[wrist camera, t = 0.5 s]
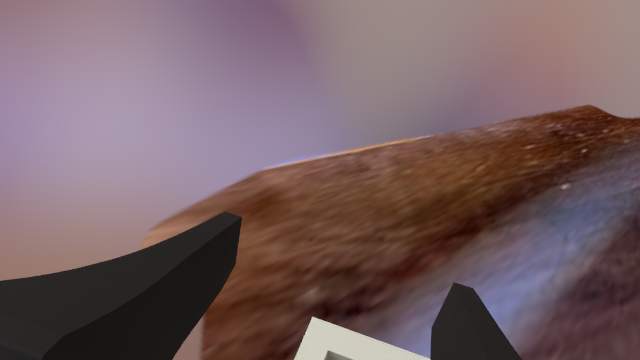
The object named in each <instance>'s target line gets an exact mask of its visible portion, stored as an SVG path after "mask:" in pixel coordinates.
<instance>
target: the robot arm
mask: <svg viewBox="0 0 640 360" xmlns="http://www.w3.org/2000/svg"><path fill="white" fill-rule="evenodd" d="M241 220H242V217H241V216H237V215H234V214H231V213H228V212H224V213H221V214H219V215H217V216H215V217H213V218H211V219H209V220H207V221H205V222H203V223H201V224H199V225H197V226H195V227H193V228H191V229H189V230H187V231H185V232H183V233H181V234H178V235H176V236H174V237H172V238H169V239H167V240H164V241H162V242H160V243H157V244H155V245H153V246H150V247H148V248H145V249H142V250H139V251H137V252H134V253H131V254H128V255H125V256H122V257H118V258H115V259H112V260H108V261H104V262H100V263H97V264H93V265H89V266H85V267H81V268H77V269H72V270H68V271H62V272H58V273H52V274H46V275H41V276H34V277H28V278H20V279H12V280H4V281H0V360H172V359H173V358H174V356H175V354H176V353H177V351H178V350H179V348H180V347H181V345H182V343H183V342H184V341H185V339H186V338H187V337H188V335H189V334H190V332H191V331H192V329H193V328H194V327H195V326H196V324H197V323H198V321H199V320H200V319H201V317H202V316H203V315H204V313H205V312H206V310H207V309H208V308H209V306H210V305H211V304H212V302H213V301H214V299H215V298H216V297H217V295H218V294H219V292H220V291H221V289H222V288H223V286H224V284H225V283H226V281H227V279H228V277H229V275H230V273H231V271H232V270H233V268H234V266H235V264H236V256H237V249H238V242H239V235H240V227H241ZM431 360H522V359H521V358H520V356H519V355H518V354H517V352H516V351H515V349H514V348H513V347H512V345H511V344H510V342H509V341H508V340H507V338H506V337H505V335H504V334H503V332H502V331H501V329H500V328H499V326H498V325H497V323H496V322H495V320H494V319H493V317H492V316H491V314H490V313H489V311H488V310H487V308H486V307H485V305H484V304H483V302H482V301H481V299H480V298H479V296H478V295H477V293H476V292H475V290H474V289H473V288H470V287H467V286H464V285H461V284H457V283H453V285H452V287H451V289H450V291H449V293H448V295H447V297H446V299H445V301H444V303H443V306H442V308H441V310H440V312H439V314H438V316H437V318H436V320H435V322H434V324H433V326H432V333H431Z"/></svg>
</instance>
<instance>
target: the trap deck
mask: <svg viewBox="0 0 640 360" xmlns="http://www.w3.org/2000/svg"><path fill="white" fill-rule="evenodd" d="M294 360H431V359H428V358H426V357H423V356H420V355H417V354H415V353H412V352H409V351H406V350H403V349H401V348H398V347H395V346H392V345H390V344H387V343H384V342H381V341H378V340H376V339H373V338H370V337H367V336H365V335H362V334H359V333H356V332H354V331H351V330H348V329H345V328H342V327H340V326H337V325H334V324H331V323H329V322H326V321H323V320H320V319H317V318H315V317H312V320H311V322H310V324H309V326H308V329H307V331H306V333H305V336H304V338H303V340H302V343H301V345H300V347H299V350H298V352H297V354H296V357H295V359H294Z"/></svg>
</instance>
